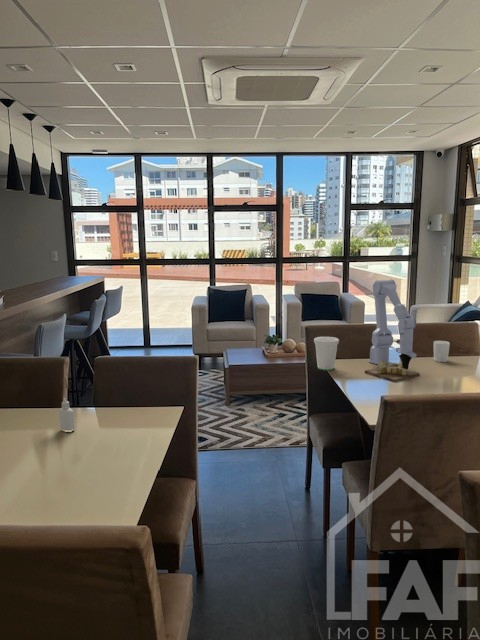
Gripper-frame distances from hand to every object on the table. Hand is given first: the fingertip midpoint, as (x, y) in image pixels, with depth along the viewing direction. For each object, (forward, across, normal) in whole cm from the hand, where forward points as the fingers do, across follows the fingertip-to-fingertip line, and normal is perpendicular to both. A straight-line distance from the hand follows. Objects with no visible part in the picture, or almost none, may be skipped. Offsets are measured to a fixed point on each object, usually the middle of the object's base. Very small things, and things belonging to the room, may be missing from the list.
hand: (405, 369), depth 221 cm
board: (+2, -1, -7) cm, 7 cm away
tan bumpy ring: (0, -1, -7) cm, 7 cm away
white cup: (+2, -17, +31) cm, 35 cm away
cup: (+2, -19, -33) cm, 38 cm away
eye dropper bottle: (+2, +32, -151) cm, 155 cm away
